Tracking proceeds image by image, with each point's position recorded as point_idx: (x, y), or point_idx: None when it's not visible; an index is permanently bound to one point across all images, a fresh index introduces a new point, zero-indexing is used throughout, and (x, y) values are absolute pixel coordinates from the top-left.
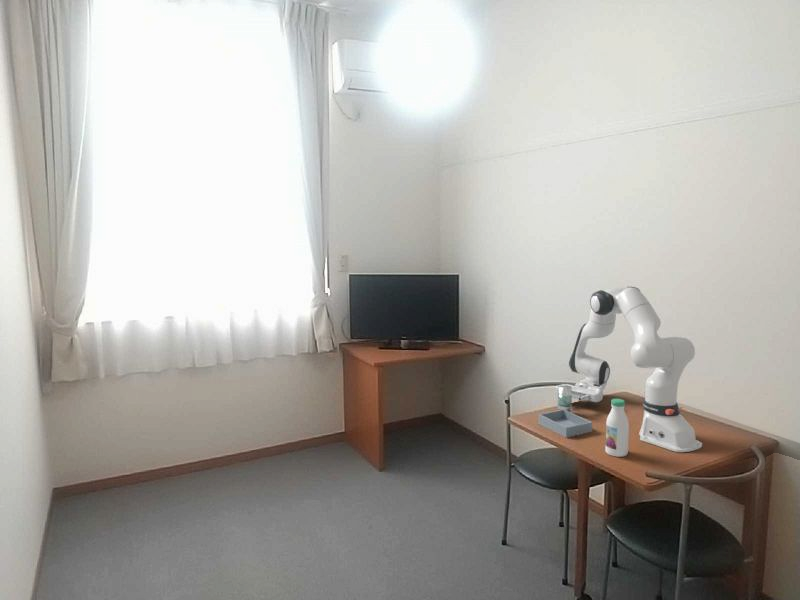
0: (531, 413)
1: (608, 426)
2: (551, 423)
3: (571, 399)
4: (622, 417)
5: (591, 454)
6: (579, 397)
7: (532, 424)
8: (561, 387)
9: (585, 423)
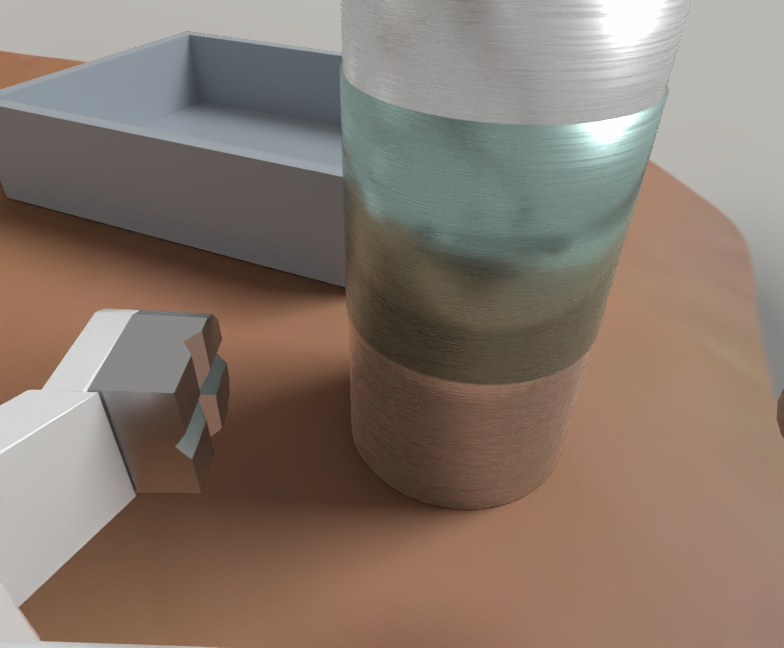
0: (731, 260)
1: None
2: (331, 75)
3: (348, 201)
4: None
5: (26, 63)
6: (195, 314)
7: None
8: None
9: (43, 77)
